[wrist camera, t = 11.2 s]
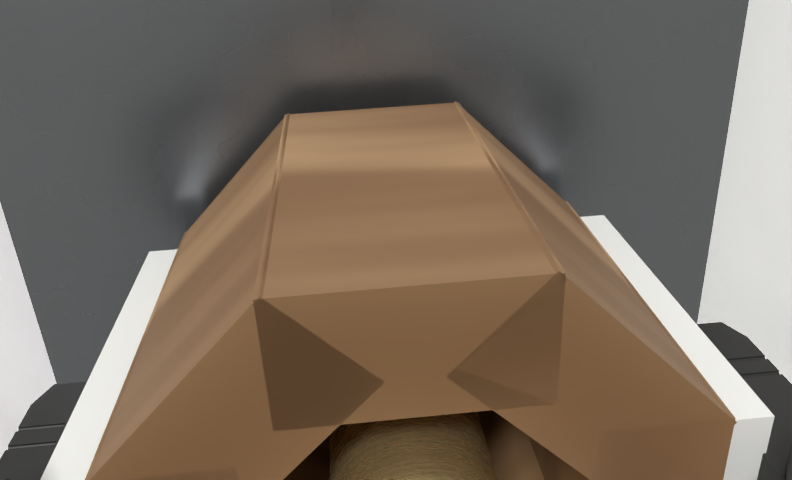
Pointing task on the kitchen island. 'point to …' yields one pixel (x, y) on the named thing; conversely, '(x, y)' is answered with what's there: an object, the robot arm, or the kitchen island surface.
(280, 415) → the bead
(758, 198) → the kitchen island surface
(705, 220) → the stand
